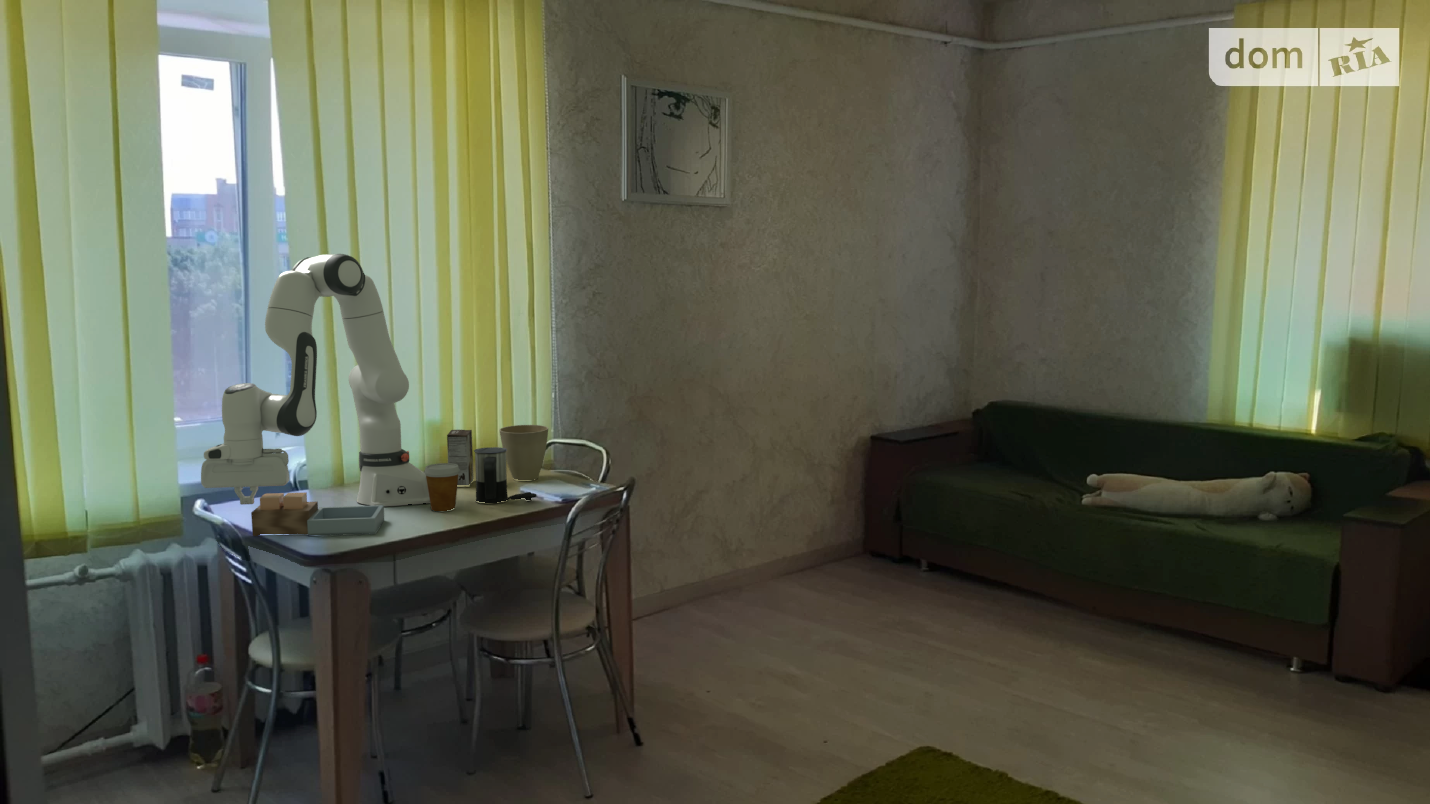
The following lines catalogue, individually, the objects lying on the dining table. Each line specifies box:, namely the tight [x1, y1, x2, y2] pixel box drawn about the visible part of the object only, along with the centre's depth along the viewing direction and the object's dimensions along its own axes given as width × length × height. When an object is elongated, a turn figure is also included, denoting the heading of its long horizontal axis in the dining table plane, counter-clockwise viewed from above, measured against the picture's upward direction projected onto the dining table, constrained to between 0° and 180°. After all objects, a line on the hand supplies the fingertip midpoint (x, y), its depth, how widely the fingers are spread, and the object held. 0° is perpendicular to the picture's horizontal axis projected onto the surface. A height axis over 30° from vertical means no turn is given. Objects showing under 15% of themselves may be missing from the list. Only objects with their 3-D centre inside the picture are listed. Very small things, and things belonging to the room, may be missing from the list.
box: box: [307, 505, 385, 536], centre depth 269 cm, size 16×14×4 cm
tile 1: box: [259, 492, 285, 510], centre depth 265 cm, size 4×5×3 cm
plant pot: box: [499, 424, 549, 481], centre depth 327 cm, size 15×15×16 cm
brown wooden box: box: [250, 500, 319, 537], centre depth 267 cm, size 14×10×6 cm
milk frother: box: [473, 446, 537, 503], centre depth 297 cm, size 14×16×15 cm
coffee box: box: [446, 429, 475, 485], centre depth 319 cm, size 9×6×16 cm
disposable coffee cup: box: [423, 462, 460, 512], centre depth 288 cm, size 10×10×12 cm
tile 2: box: [283, 492, 308, 509], centre depth 266 cm, size 4×5×3 cm
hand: (247, 503), depth 265 cm, fingers closed
